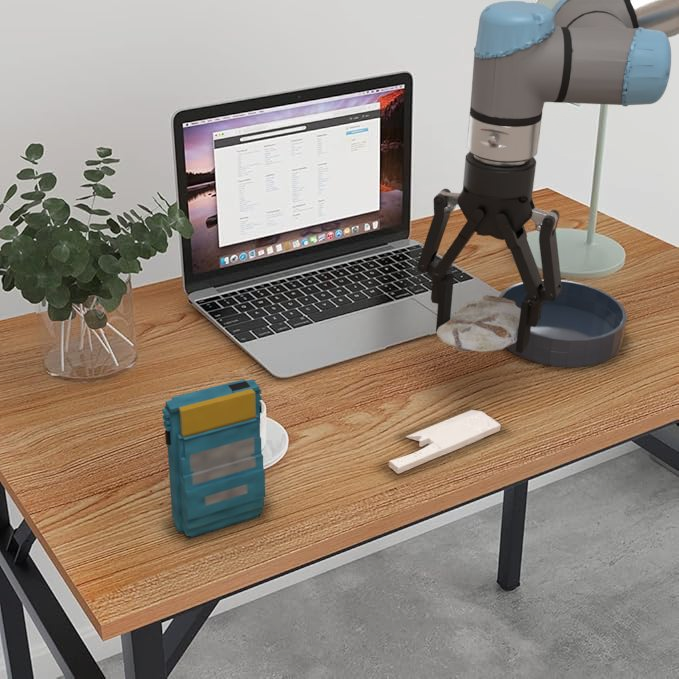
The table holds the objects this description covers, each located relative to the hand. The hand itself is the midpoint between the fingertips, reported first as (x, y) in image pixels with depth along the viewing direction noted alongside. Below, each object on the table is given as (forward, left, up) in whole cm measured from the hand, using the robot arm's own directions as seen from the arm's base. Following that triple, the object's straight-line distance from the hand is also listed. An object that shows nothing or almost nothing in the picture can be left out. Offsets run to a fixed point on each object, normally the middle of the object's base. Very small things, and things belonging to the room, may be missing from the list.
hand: (481, 337), depth 125 cm
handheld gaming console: (+16, +33, -9) cm, 38 cm away
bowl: (-5, -21, -9) cm, 23 cm away
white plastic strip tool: (+1, +10, -9) cm, 14 cm away
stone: (0, 0, 0) cm, 0 cm away
